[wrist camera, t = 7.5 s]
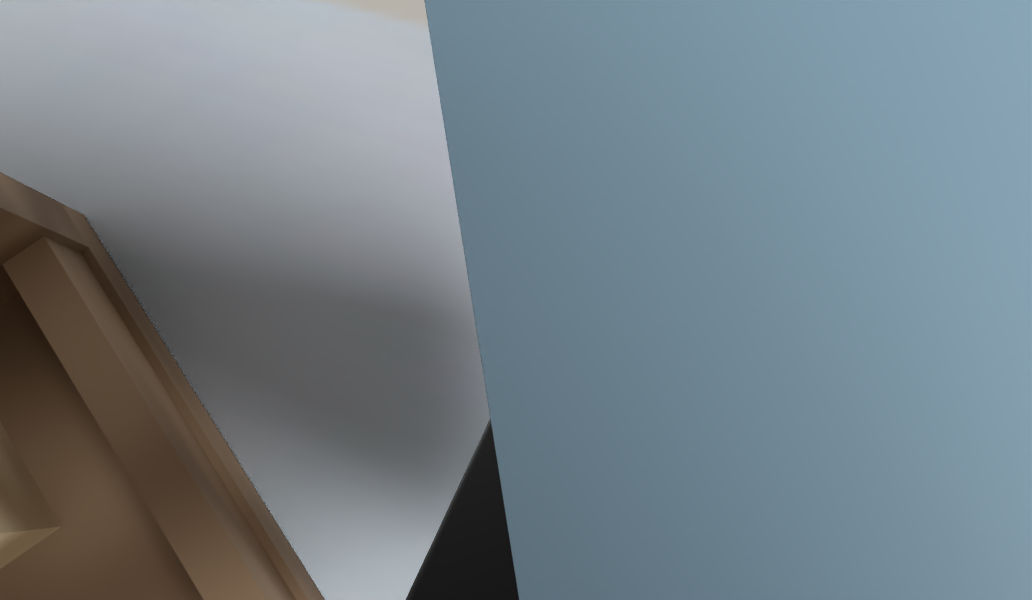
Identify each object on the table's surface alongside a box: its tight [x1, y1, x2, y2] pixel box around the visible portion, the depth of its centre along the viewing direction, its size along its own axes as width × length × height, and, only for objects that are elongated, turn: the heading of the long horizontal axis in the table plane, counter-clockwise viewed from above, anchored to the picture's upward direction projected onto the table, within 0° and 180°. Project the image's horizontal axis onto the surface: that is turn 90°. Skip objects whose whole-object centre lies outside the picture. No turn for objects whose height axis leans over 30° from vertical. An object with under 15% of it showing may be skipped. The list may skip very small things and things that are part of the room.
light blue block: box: [425, 0, 1032, 600], centre depth 9 cm, size 5×4×13 cm
